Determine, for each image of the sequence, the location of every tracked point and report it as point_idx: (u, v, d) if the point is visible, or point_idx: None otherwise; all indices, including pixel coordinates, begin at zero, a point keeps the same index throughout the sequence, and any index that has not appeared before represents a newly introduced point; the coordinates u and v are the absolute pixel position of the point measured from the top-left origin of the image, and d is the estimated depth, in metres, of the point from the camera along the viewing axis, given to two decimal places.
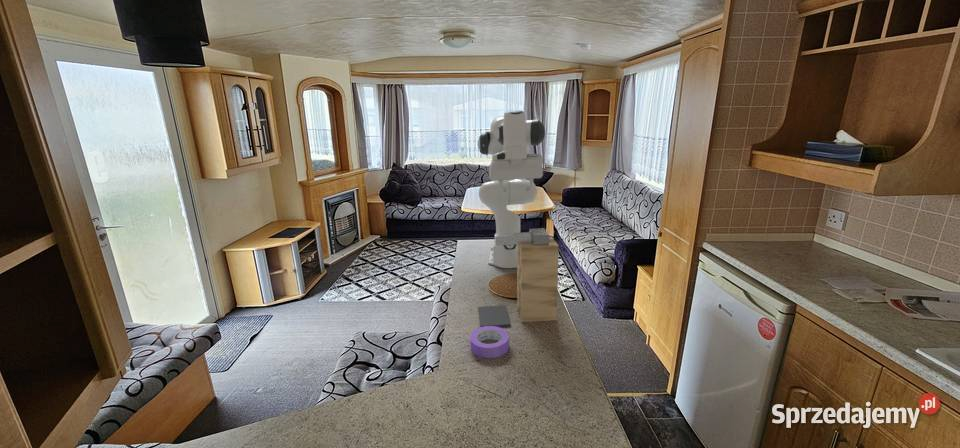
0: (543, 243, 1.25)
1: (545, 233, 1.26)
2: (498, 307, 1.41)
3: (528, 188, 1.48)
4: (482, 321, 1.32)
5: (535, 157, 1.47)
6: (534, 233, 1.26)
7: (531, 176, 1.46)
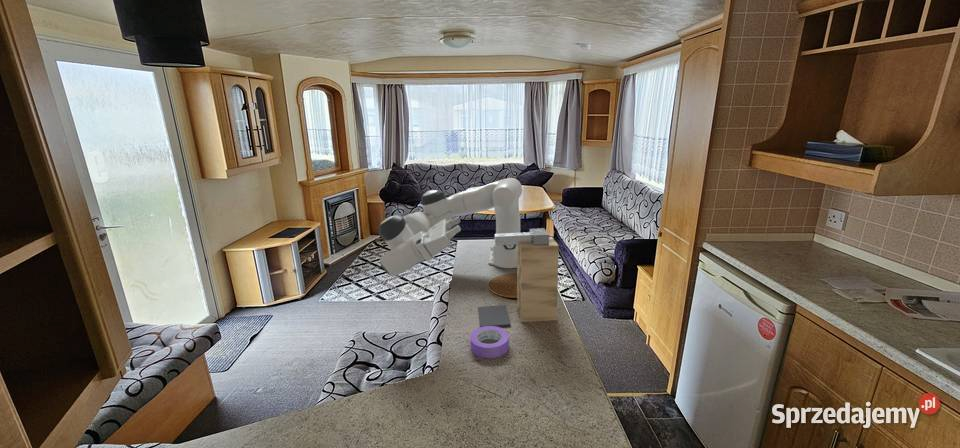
0: (543, 243, 1.25)
1: (545, 233, 1.26)
2: (498, 307, 1.41)
3: (455, 218, 1.32)
4: (482, 321, 1.32)
5: None
6: (534, 233, 1.26)
7: (443, 222, 1.33)
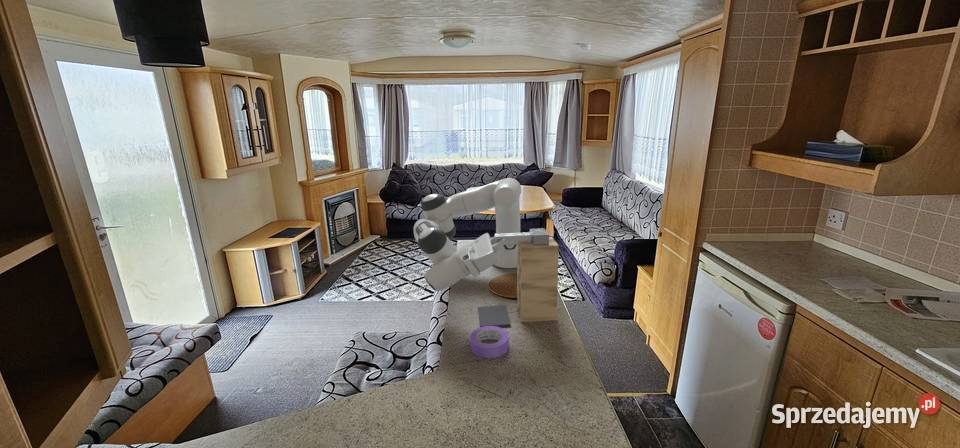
0: (543, 243, 1.25)
1: (545, 233, 1.26)
2: (498, 307, 1.41)
3: None
4: (482, 321, 1.32)
5: None
6: (534, 233, 1.26)
7: (486, 236, 1.33)
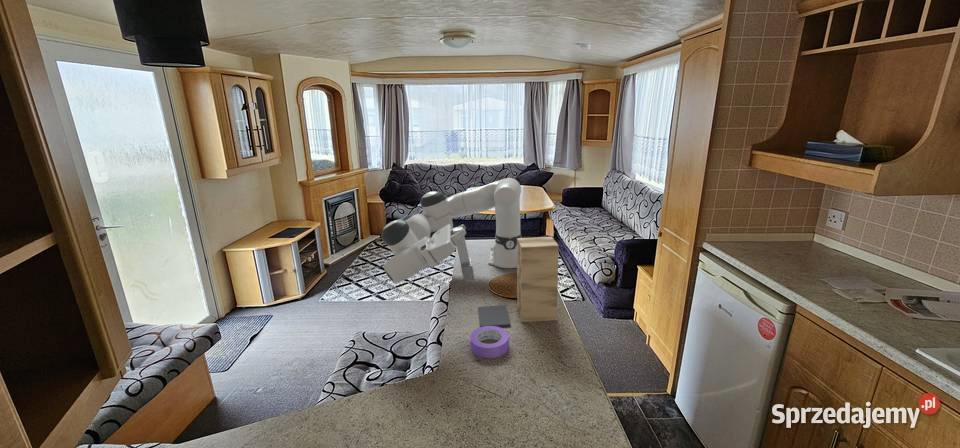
0: (464, 276, 1.27)
1: None
2: (498, 307, 1.41)
3: (461, 226, 1.27)
4: (482, 321, 1.32)
5: None
6: (471, 265, 1.27)
7: (447, 227, 1.31)
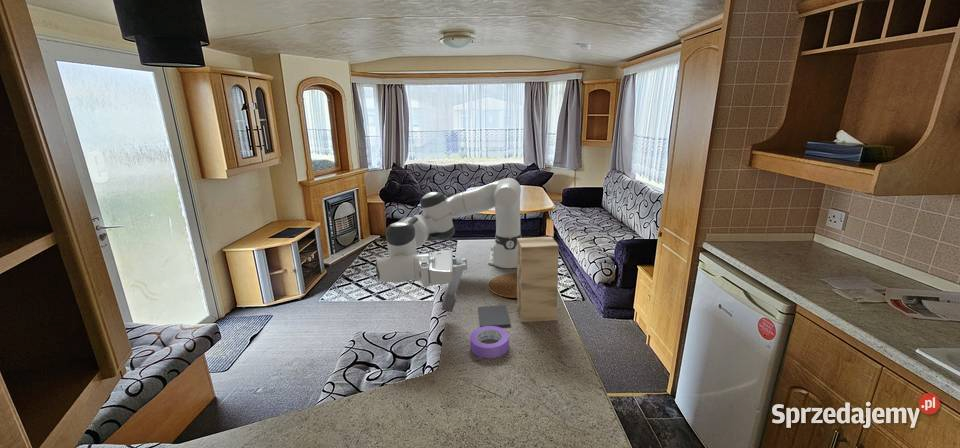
0: (444, 305, 1.29)
1: None
2: (498, 307, 1.41)
3: (463, 259, 1.31)
4: (482, 321, 1.32)
5: (430, 257, 1.36)
6: (455, 298, 1.30)
7: (450, 253, 1.34)
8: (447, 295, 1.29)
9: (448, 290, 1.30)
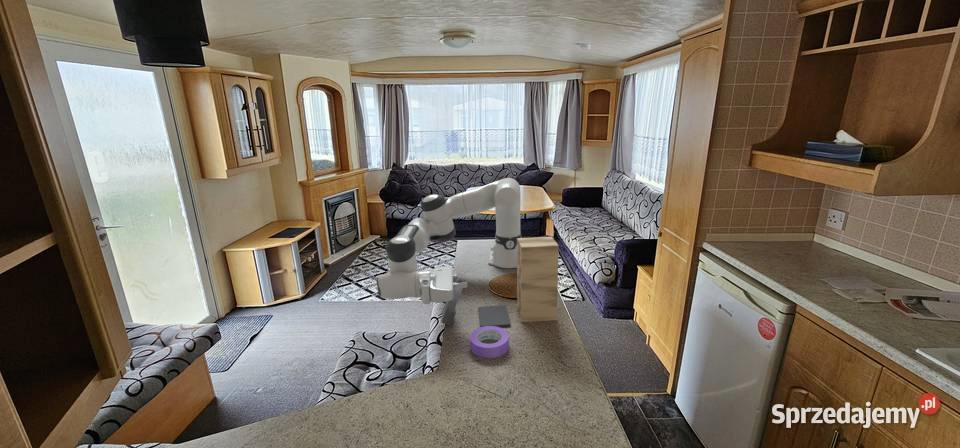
0: (444, 318, 1.30)
1: None
2: (498, 307, 1.41)
3: None
4: (482, 321, 1.32)
5: (431, 273, 1.37)
6: (455, 311, 1.32)
7: (450, 270, 1.35)
8: (447, 308, 1.31)
9: (448, 303, 1.31)
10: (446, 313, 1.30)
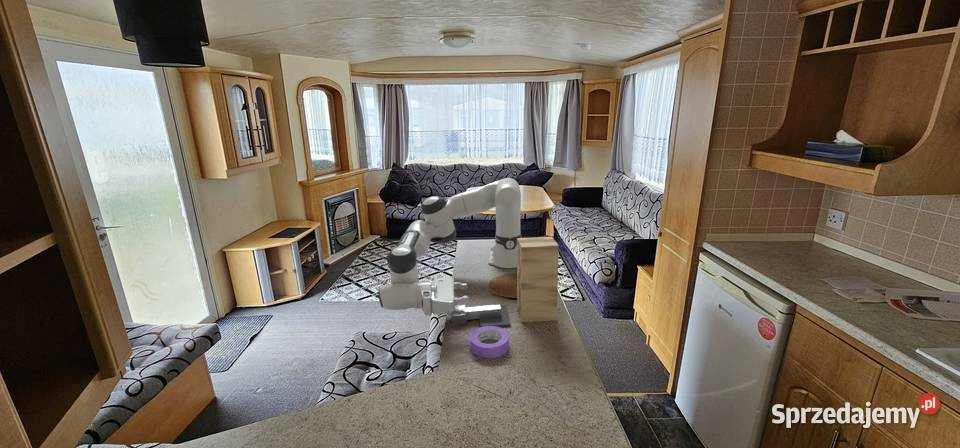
0: (456, 317, 1.30)
1: None
2: None
3: (464, 284, 1.36)
4: (482, 321, 1.32)
5: (432, 283, 1.39)
6: None
7: (451, 281, 1.37)
8: (466, 314, 1.32)
9: (470, 312, 1.33)
10: (462, 316, 1.31)
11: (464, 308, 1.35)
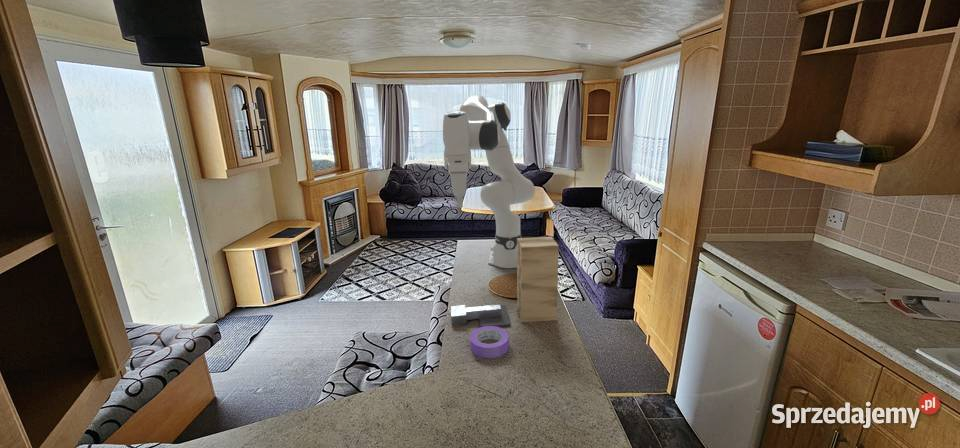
0: (456, 317, 1.30)
1: None
2: None
3: None
4: (482, 321, 1.32)
5: None
6: None
7: None
8: (466, 314, 1.32)
9: (470, 312, 1.33)
10: (462, 316, 1.31)
11: (464, 308, 1.35)
